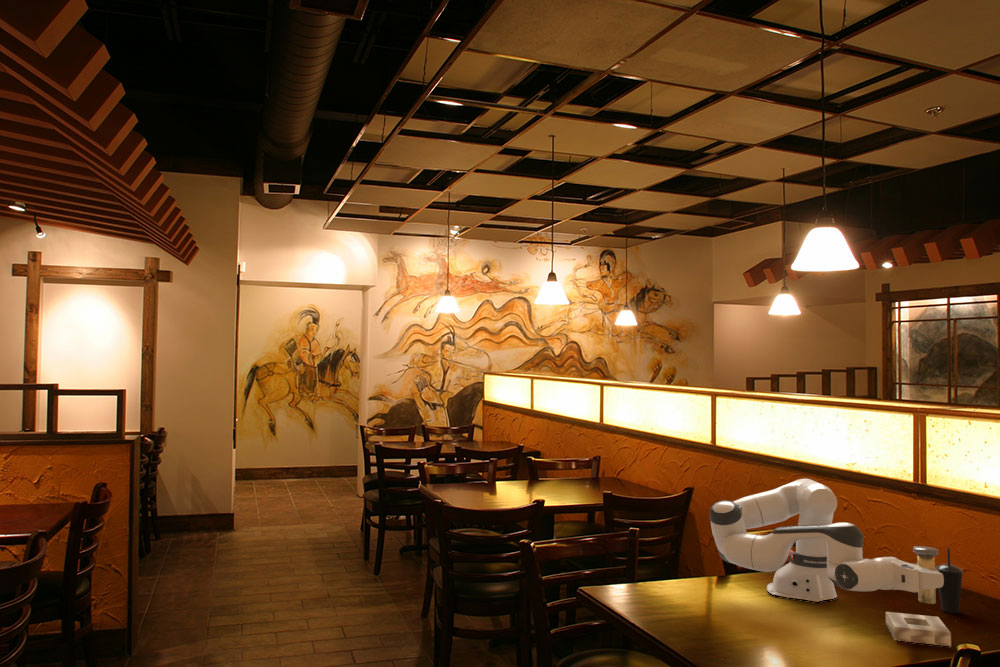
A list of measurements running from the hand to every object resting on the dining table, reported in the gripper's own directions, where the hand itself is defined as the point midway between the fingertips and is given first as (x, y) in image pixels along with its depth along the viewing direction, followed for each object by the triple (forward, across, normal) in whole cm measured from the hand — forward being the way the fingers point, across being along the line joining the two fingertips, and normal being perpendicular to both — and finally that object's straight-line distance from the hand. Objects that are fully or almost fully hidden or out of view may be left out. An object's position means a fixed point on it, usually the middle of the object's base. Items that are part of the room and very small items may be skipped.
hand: (928, 569), depth 210 cm
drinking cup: (+24, -15, -19) cm, 34 cm away
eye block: (-4, -1, -19) cm, 19 cm away
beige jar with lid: (-1, 0, -9) cm, 9 cm away
